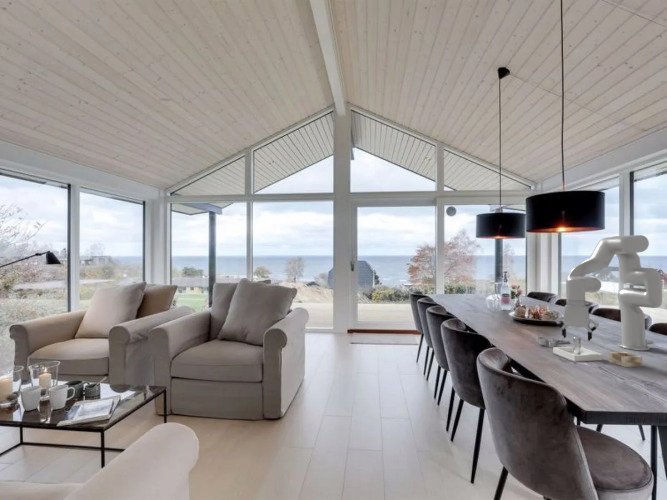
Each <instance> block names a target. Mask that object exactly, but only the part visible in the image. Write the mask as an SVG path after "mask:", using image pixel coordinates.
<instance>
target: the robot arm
mask: <svg viewBox="0 0 667 500" xmlns="http://www.w3.org/2000/svg"><path fill="white" fill-rule="evenodd" d="M649 242H650V241H649V239H648V237H646V236H645V235H641V234H636V235H635V234H634V235H617V236H616V235H615V236H610V237H609V236H608V237H603V238H601V239H600V240H599V241H598V242H597V244H596V245H595V247H594V249H593V251H592V253H591V254H590V256H589V258H587V259H586V260H583V261H582V262H581V263H579V264H578V265H576V266H575V267H573V268H572V269H571V270H570V272H569V274H568V276H567V277H566V280H565V296H566V297H565V299H566V301H565V302H566V304H565V305H564V309H563V316H561V317H557V318H555V320H554V321H555V323H556V325H557V326H558V328H560V329H561V336H563V339H565V338H567V329H566V328H567V327H569V328H570V327H571V328H581V329H582V328H583V329H586V331H587V341H588V342H590V341H591V340H592V339H593V332H594V331H595V330H597V329H598V327H599V325H600V323H599V322H597V321H595V320H593V319H590V311H589V307H588V306H586V305H590V301H587V300H586V293H591V294H592V293H597V292H599V291H600V289H601V288H602V282H601V281H600V280H599V279H598V278H597V277H594V276H587V275H589V274H591V273H594V272H598V271H602V270H604V269H607V268H608V267H609V265H610V263H611V262H612V260H613V258H614V257H615V256H616V257H617V259H618V264H619V276H620V282H621V283H622V284H624V285H627V286H634V287H623V288H620V289H619V290H618V293H617V298H618V302H619V309H620V327H621V328H620V329H621V331H620V332H621V342H618V343H617V346H618V347H620V348H622V349H627V350H631V351H632V350H633V351H650V349H651V348H650V346H648V345H653V344H654V340H653V339H650V340H647V339H646V323H645V322H646V320H645V319H646V318H645V313H644V311H643V310H642V308H649V309H650V308H651V309H657V308H660V307H661V305H662V303H663V290H662V288H663V287H662V279H661V278H662V277H661V274H660V272H659V271H658V270H657V269H656V268H653V267H652V268H651V267H642V266H641V259H640V256H639V255H638V253H642V252H645V251H646V250H647V249H648V248H649V247H650V243H649ZM635 286H636V287H635ZM638 286H639V287H644V288H639V287H638ZM561 321H563V324H562V323H561ZM591 324H592V325H594V326H593V327H590V325H591Z"/></svg>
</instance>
